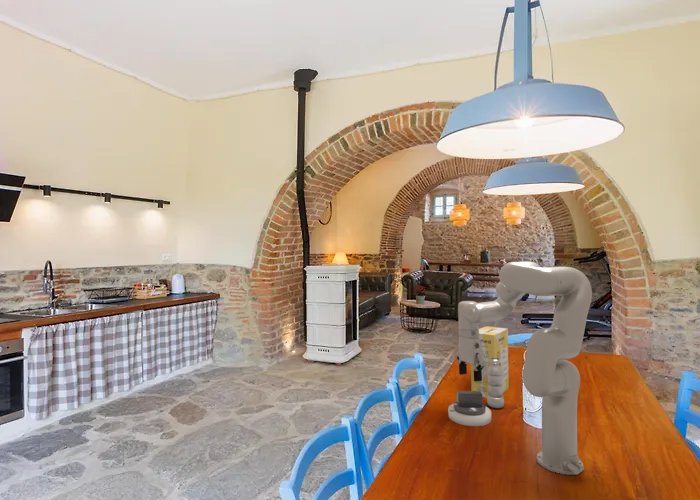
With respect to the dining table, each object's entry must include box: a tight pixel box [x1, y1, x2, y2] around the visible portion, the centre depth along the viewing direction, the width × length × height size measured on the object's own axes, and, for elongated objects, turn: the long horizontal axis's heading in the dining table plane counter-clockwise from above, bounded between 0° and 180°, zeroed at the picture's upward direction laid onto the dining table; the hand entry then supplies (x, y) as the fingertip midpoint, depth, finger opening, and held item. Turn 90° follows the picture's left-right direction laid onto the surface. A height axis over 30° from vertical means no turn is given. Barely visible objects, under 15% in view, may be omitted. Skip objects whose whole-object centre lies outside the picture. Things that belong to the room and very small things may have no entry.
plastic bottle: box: [486, 358, 505, 409], centre depth 169 cm, size 6×7×20 cm
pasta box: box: [470, 326, 510, 399], centre depth 188 cm, size 18×10×28 cm, turn 141°
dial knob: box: [453, 390, 487, 415], centre depth 159 cm, size 12×12×6 cm
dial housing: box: [447, 403, 492, 427], centre depth 159 cm, size 16×16×3 cm
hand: (470, 377), depth 159 cm, fingers open, 9 cm apart
